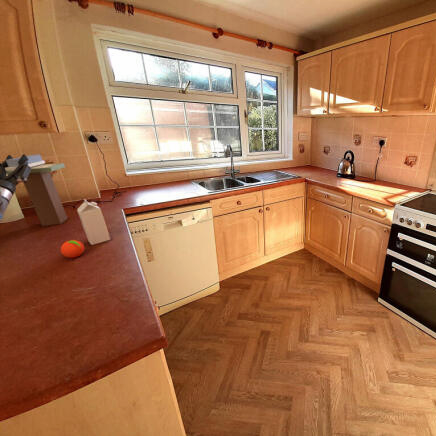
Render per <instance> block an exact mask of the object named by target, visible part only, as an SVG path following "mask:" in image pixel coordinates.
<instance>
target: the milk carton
mask: <svg viewBox="0 0 436 436" xmlns="http://www.w3.org/2000/svg"><path fill="white" fill-rule="evenodd" d="M83 200H84V201H83V202H82V204H80V206H79V207H77V209H76V211H77V214H78V216H79V217H78V218H79V219H80V221H81V225H82V228H83V230H84V233H85V237H86V238H87V241H88V243H89V244H90V245H91V246H94V245H97V244H100V243H105V242H107V241H111V236H110V233H109V231H108V228H107V224H106V221H105V218H104V215H103V212H102V209H101V207H99V206H98V203H97V202H95V201H91V202H89V201H87V200H86V199H85V198H84V199H83Z"/></svg>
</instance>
